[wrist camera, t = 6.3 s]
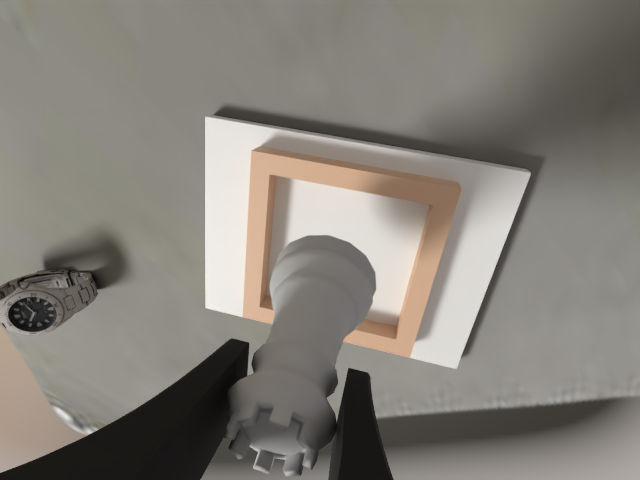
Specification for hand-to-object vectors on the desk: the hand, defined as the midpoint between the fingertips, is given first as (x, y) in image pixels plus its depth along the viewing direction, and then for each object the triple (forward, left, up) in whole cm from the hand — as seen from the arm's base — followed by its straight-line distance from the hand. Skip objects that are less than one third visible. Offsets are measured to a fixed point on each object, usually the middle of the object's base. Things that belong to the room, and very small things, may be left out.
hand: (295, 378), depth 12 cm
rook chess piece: (0, -1, -6) cm, 6 cm away
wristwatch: (+19, +7, -11) cm, 23 cm away
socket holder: (0, 0, -10) cm, 10 cm away
